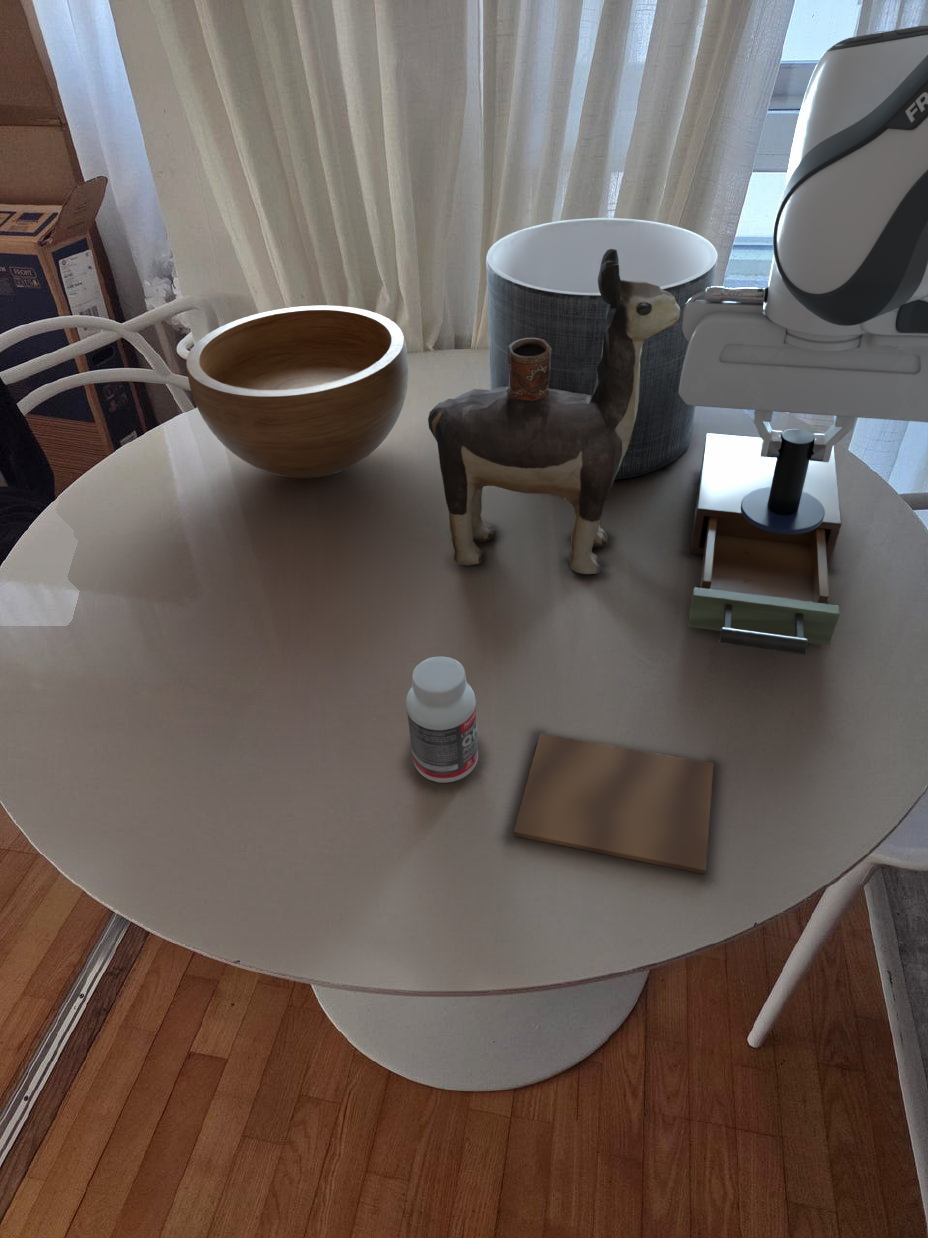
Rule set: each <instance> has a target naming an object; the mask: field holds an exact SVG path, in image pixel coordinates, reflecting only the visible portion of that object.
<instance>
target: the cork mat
mask: <svg viewBox="0 0 928 1238" xmlns="http://www.w3.org/2000/svg"><path fill="white" fill-rule="evenodd" d="M714 767H715V766H714V762H709V761H703V760H697V759H691V758H686V757H685V758H684V757H680V756H674V755H668V754H663V753H657V752H652V751H651V752H650V751H645V750H639V749H633V748H627V747H621V746H615V745H610V744H603V743H598V742H593V741H587V740H582V739H575V738H569V737H563V736H557V735H551V734H546V733H539V736H538V740H537V742H536V747H535V751H534V754H533V758H532V762H531V765H530V769H529V772H528V777H527V780H526V783H525V788H524V791H523V795H522V799H521V802H520V806H519V810H518V813H517V817H516V821H515V825H514V829H513V836H515V837H519V838H523V839H527V840H528V839H529V840H533V841H539V842H543V843H549V844H553V845H558V846H563V847H569V848H574V849H578V850H584V851H589V852H593V853H599V854H603V855H608V856H613V857H618V858H623V859H628V860H634V861H637V862H643V863H647V864H653V865H658V866H662V867H667V868H673V869H678V870H684V871H688V872H693V873H697V874H703V875H706V872H707V864H708V852H709V851H708V850H709V835H710V822H711V808H712V793H713V780H714V779H713V778H714V777H713V776H714Z"/></svg>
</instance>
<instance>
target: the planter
mask: <svg viewBox="0 0 928 1238" xmlns="http://www.w3.org/2000/svg"><path fill="white" fill-rule="evenodd" d="M609 249H614V250H617V254H618V259H619V273H620V279H621V280H625V281H637V282H647V283H649V284H653V285H656V286H659V287H660V288H661V289H663V290H665V291H667V292H669V293H671V294H672V295H673V296H674V297H675V301H676V303H677V304H678V305H679V307H680V315H679V318H678V322H677V324H675V325H673V326H671V327H669V328H667V329H665V330H663V331H661V332H659V333H657V334H655V335H653V336H651V337H649V338H647V339H645V340H644V342H643V345H642V354H641V357H640V383H639V402H638V410H637V414H636V418H635V422H634V426H633V430H632V434H631V439H630V442H629V445H628V448H627V451H626V453H625V455H624V457H623V460H622V462H621V465H620V467H619V470H618V472H617V475H616V477H615V479H614V481H617V480H625V479H630V478H634V477H639V476H643V475H647V474H650V473H653V472H655V471H657V470H660V469H662V468H664V467H666V466H667V465H669V464H671V463H673V462H674V461H676V460H677V459H678V458H680V457H681V455H683V453H684V452H685V451H686V450H687V448H688V447H689V445H690V443H691V440H692V435H693V425H694V418H695V410H696V406H690V405H687V404H686V403H685V402H684V401H683V400H682V398H681V397H680V395H679V393H678V391H679V384H680V378H681V372H682V367H683V362H684V358H685V354H686V350H687V346H688V341H687V340H686V339H685V337H684V336H683V333H682V319H683V310H684V307H685V305H686V303H687V301H688V300H689V299H690V298H691V297H692V296H694V295H695V294H697V293H700V292H704V291H706V288H708V287H714V286H715V280H716V274H717V267H718V259H719V254H718V253H719V252H718V250H717V248H716V247H715V246H714V244H713V243H712V242H710V240H708V239H707V238H705V237H704V236H702V235H701V234H698V233H696V232H694V231H691V230H688V229H685V228H684V227H680V226H677V225H672V224H668V223H663V222H657V221H652V220H645V219H634V218H621V217H620V218H618V217H592V218H591V217H589V218H575V219H565V220H560V221H559V220H557V221H551V222H545V223H541V224H537V225H533V226H529V227H526V228H523V229H519V230H517V231H514V232H512V233H509V234H507V235H504V236H503V237H502V238H500V239H498V240H497V241H496V242H494V243H493V244H492V245H491V247H490V248H489V249H488V250H487V253H486V256H485V264H486V267H485V269H486V295H487V316H488V317H487V318H488V319H487V321H488V325H487V326H488V348H489V349H488V350H489V372H490V373H489V375H490V376H489V377H490V390H492V389H495V388H499V387H508V384H509V367H508V346H509V345H510V344H511V343H512V342H514V341H517V340H519V339H524V338H539V339H543V340H545V341H546V342H547V343H548V344H549V345H550V347H551V349H552V350H551V367H550V379H549V386H548V388H550V389H556V390H562V391H567V392H572V393H579V394H587V395H593V393H594V388H595V384H596V379H597V368H598V366H599V363H600V361H601V354H602V345H603V339H604V331H605V326H606V309H607V303H606V302H605V301H604V299H603V298H602V296H601V294H600V292H599V287H598V275H599V271H600V266H601V261H602V258H603V256H604V254H605V253H606V251H607V250H609ZM697 300H705V297H702V298H699V299H697Z"/></svg>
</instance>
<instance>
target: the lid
mask: <svg viewBox="0 0 928 1238" xmlns="http://www.w3.org/2000/svg"><path fill="white" fill-rule="evenodd" d="M781 437H782V443H781V448H780V453H779V457H778V458H777V460H776V465H775V470H774V475H773V480H772V485H771V487H763V488H759V489H756V490H753V491H751V492H749V493H748V494H747V495H746V496H745V497H744V498H743V500H742V503H741V512H742V515H743V516H744V518H745V519H746V520H747V521H748V522H749V523H751V524H752V525H754V526H756V527H758V528H760V529H762V530H765V531H768V532H772V533H777V534H801V533H806V532H809V531H812V530H814V529H816V528H817V527H818V526H819V525H820V524H821V523H822V521H823V519H824V515H825V511H824V507H823V505H822V504H821V503H820V501H819V500H817V499H816V498H815V497H813V496H812V495H810V494H808V493H806V492H804V491H803V487H804V482H805V478H806V474H807V470H808V465H809V461H810V456H811V452H812V448H813V443H814V439H815V437H814V433H812V432H810V431H809V430H806V429H802V428H801V429H800V428H790V429H789V428H788V429H786V430H784V431H782V436H781Z"/></svg>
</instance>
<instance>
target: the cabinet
mask: <svg viewBox="0 0 928 1238" xmlns="http://www.w3.org/2000/svg"><path fill="white" fill-rule="evenodd" d="M761 443H762V438H761V437H755V436H744V435H743V436H742V435H731V434H720V433H710V432H709V433H708V432H707V433H706V434H705V441H704V447H703V453H702V458H701V459H702V460H701V466H700V473H699V480H698V486H697V487H698V488H697V496H696V503H695V512H694V519H693V528H692V536H691V537H692V538H691V543H690V551H689V553H690V554H693V555H702V556H703V555H704V546H705V536H706V530H707V524H708V518H709V516H712V517H721V518H730V519H740V520H746V519H745V518H744V516H743V515H742V512H741V503H742V500H743V498H744V497H745V496H746V495H747V494H748V493H749V492H751V491H753V490H756V489H759V488H763V487H771V485H772V480H773V475H774V470H775V465H776V460H777V458H772V457H760V452H761ZM803 491H804V492H806V493H808V494H810V495H812V496H813V497H815V498H816V499H817V500H819V501H820V503H821V504H822V505H823V507H824V511H825V515H824V519H823V521H822V523H821V524H820V525H819V526H818V527H817V528H823V529H825V543H826V557H827V571H828V570H829V569H830V566H831V563H832V562H831V561H832V558H833V555H834V552H835V548H836V545H837V541H838V538H839V535H840V530H841V527H842V516H841V515H842V513H841V503H840V494H839V493H840V492H839V483H838V473H837V463H836V452H835V445H833V448H832V452H831V456H830V460H829V462H820V461H809V465H808V470H807V474H806V478H805V482H804V487H803Z"/></svg>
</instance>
